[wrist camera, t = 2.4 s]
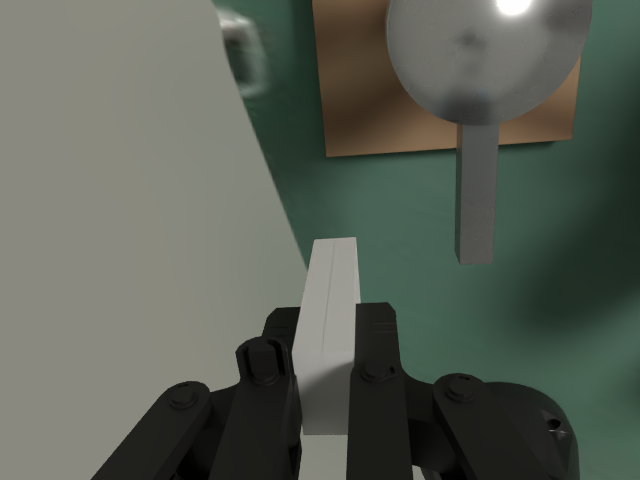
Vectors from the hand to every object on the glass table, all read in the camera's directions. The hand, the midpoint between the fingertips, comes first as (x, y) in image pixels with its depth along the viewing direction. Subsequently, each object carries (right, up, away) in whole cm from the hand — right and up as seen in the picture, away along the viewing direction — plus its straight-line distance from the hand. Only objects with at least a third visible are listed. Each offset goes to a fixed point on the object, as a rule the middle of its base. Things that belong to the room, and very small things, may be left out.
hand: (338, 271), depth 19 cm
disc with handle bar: (+7, +13, +8) cm, 17 cm away
